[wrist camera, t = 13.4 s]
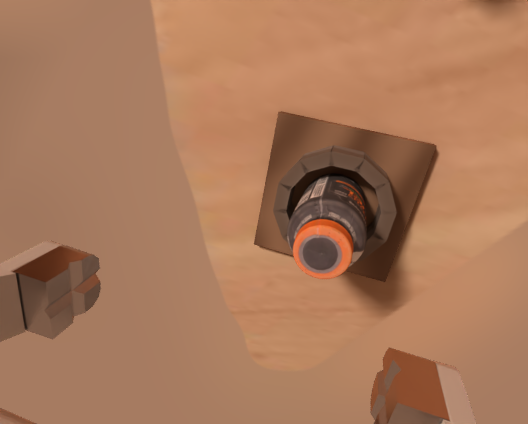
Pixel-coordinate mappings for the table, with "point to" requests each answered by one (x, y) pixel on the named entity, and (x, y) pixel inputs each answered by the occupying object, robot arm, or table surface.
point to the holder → (351, 165)
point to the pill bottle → (328, 226)
